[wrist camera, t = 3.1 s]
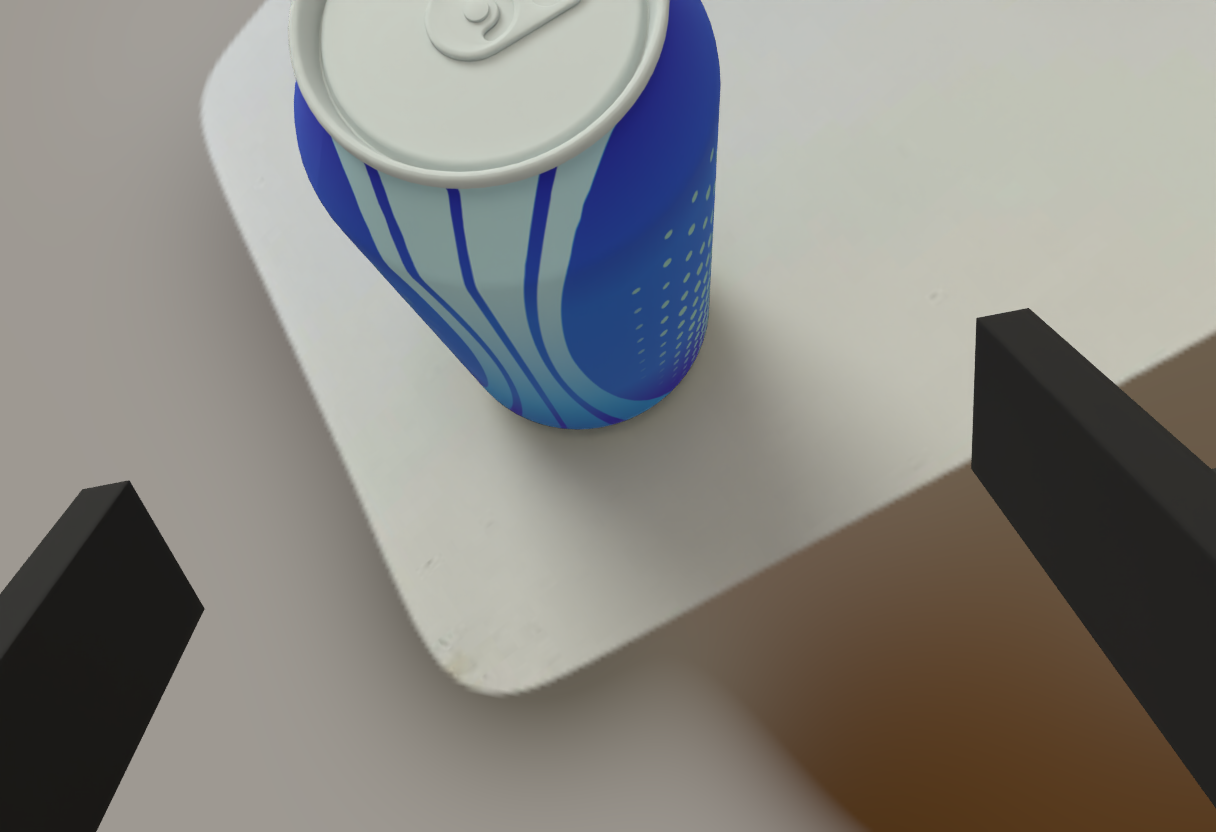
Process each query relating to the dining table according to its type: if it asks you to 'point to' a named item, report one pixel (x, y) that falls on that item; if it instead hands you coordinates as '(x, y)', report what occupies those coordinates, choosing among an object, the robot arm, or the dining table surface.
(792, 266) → the dining table surface
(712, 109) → the beer can
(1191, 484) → the robot arm
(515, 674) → the dining table surface
